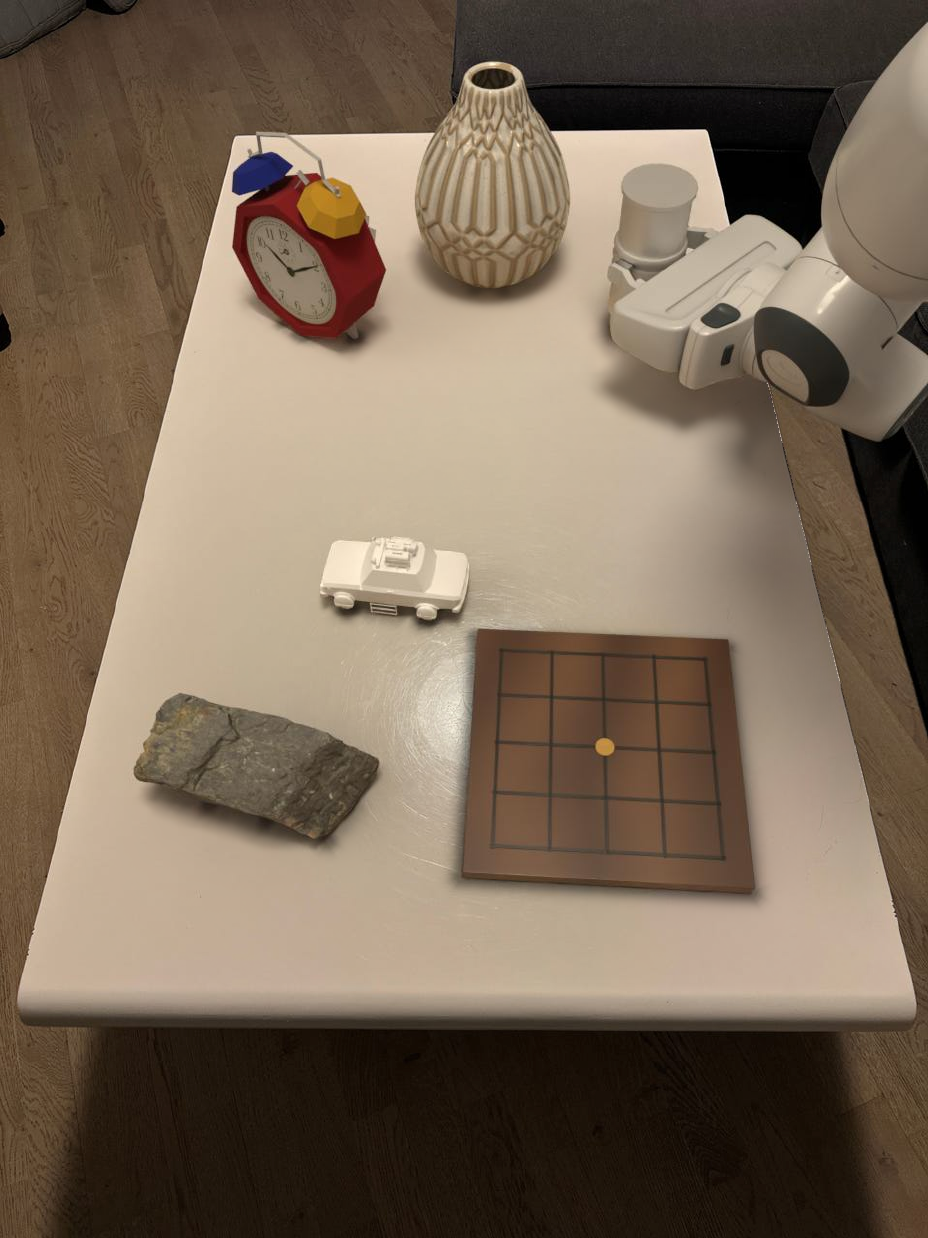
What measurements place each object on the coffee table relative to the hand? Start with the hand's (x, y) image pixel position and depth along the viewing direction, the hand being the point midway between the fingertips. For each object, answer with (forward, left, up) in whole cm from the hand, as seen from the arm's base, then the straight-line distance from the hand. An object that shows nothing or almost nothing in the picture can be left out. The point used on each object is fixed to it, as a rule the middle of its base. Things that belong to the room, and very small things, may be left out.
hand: (641, 249), depth 90 cm
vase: (+15, -9, -9) cm, 20 cm away
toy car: (+21, +35, -9) cm, 41 cm away
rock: (+29, +53, -9) cm, 61 cm away
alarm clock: (+32, 0, -9) cm, 33 cm away
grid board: (+4, +49, -9) cm, 50 cm away
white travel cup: (-1, +1, -8) cm, 8 cm away
